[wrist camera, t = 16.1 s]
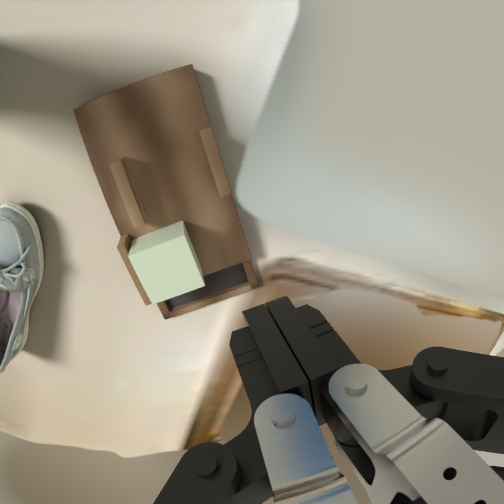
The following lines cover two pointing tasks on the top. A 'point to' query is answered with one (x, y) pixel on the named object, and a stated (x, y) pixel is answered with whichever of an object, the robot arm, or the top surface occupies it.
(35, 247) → the boat shoe
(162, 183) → the board
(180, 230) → the block
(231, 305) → the top surface
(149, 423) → the top surface
